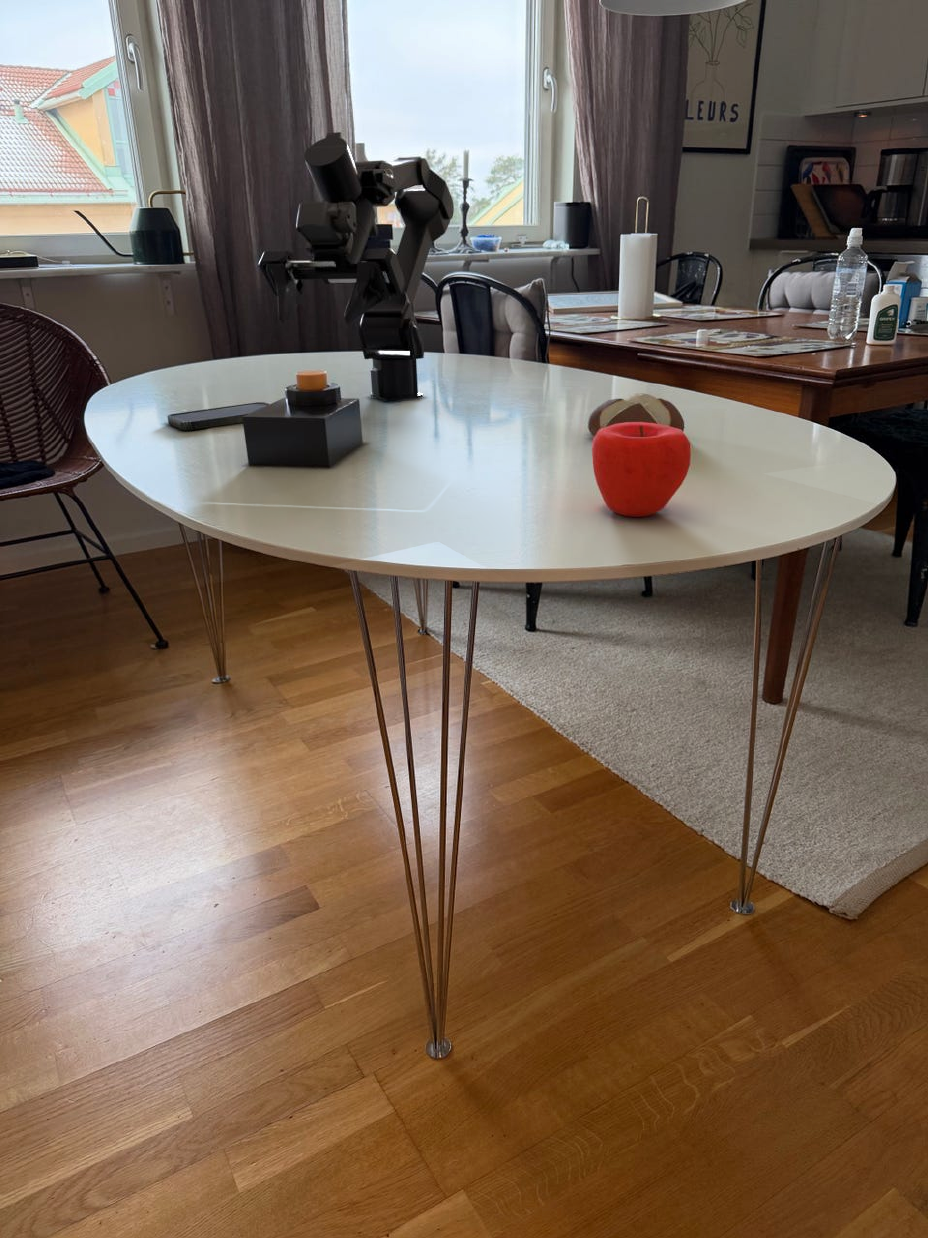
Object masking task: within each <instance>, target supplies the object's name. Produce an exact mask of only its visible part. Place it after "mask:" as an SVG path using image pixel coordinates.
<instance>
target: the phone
mask: <svg viewBox="0 0 928 1238" xmlns="http://www.w3.org/2000/svg"><path fill="white" fill-rule="evenodd" d="M269 404H270V403H268V402H265V401H258V402H256V401H255V402H249V403H248V402H247V403H242V404H233V405H228V406H220V407H213V408H205V409H198V410H190V411H183V412H176V413H171V414H168V415H167V416H166V417H167V423H168V425H171V426H172V427H175V428H177V429H179V430H181V431H194V430H199V429H206V428H214V427H220V426H221V427H222V426H227V425H233V424H241V423H243V419H242V417H243V416H245V415H247V414H250V413H252V412H254V411H256V410H258V409H261V408H263V407H265V406H267V405H269Z"/></svg>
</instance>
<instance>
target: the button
mask: <svg viewBox="0 0 928 1238" xmlns="http://www.w3.org/2000/svg"><path fill="white" fill-rule="evenodd" d="M295 378H296V384H297V388H298V389H300V390H313V389H323V388H327V382H328V379H327V378H328V377H327V371H324V370H305V371H299V372H296V373H295Z"/></svg>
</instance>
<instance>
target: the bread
mask: <svg viewBox="0 0 928 1238" xmlns="http://www.w3.org/2000/svg"><path fill="white" fill-rule="evenodd" d="M625 422H646V423H656V424H661V425H667V426H670V427H674V428H677V429H681V430H682V431H683V432H684V431H685V421H684V418H683V416H682V414H681V412H680V411H679V409H678V408H677V407H676V406H675V405H674V403H672V402H671V401H669V400H667V399H663V398H662V397H659V398H657V397H655V395H651V394H649V393H634V394H631V395H628V396H626V397H625V398H612V399H608V400H606V401H604V402H603V403H601V404H600V405H598V406H597V407H596V408H595V409H594V410H592V412H591V413H590V415H589V418H588V422H587V429H588V431H589V433H590V435H592V436H594V437H595V436H596V434H597V432H598V431H599V429H602V428H605V427H608V426H611V425H614V424H618V423H625Z"/></svg>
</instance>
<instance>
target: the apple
mask: <svg viewBox="0 0 928 1238" xmlns="http://www.w3.org/2000/svg"><path fill="white" fill-rule="evenodd" d="M591 457H592V467H593V474H594V478H595V481H596V484H597V487H598V490H599V492H600V494H601V497H602V499H603V501H604V503H605V505H606V506H607V508H608V509H609V510H611V511H612V512H614V513H616V514H618V515H620V516H621V515H622V516H624V517H630V518H643V517H644V518H645V517H648V516H649V517H650V516H652V515H654V514H656V513H658V512H659V511H662V510H663V509H664V508H665V507H666V506H667V504H668V503H669V502H670V500H671V499H672V498H673V497H674V495H675V494H676V492H677V491H678V490H679V489H680V487H681V486H682V485H683V483H684V481H685V479H686V477H687V475H688V472H689V469H690V465H691V459H692V458H691V457H692V447H691V442H690V440H689V439H688V437H687V435H686V434H685V432H684V431H682V430H681V429H677V428H674V427H670V426H667V425H661V424H656V423H646V422H625V423H618V424H614V425H611V426H608V427H605V428H602V429H599V431H598V432H597V434H596V436H594V437H593V438H592V443H591Z"/></svg>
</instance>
